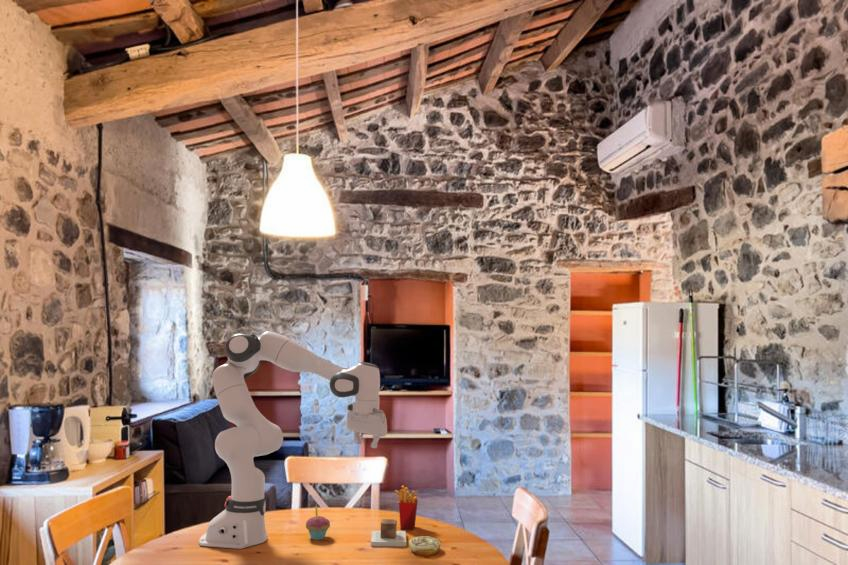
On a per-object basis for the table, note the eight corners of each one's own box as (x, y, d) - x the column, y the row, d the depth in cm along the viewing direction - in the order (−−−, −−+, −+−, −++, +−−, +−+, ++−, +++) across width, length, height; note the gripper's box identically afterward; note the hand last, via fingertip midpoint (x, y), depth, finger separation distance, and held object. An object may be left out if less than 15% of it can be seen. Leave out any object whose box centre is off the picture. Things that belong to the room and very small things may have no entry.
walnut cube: (380, 538, 226) (380, 523, 226) (382, 533, 231) (382, 519, 231) (394, 538, 226) (395, 523, 226) (396, 534, 231) (396, 519, 231)
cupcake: (324, 542, 225) (325, 506, 226) (301, 540, 227) (302, 504, 228) (332, 534, 233) (334, 500, 234) (310, 532, 235) (311, 498, 236)
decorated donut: (409, 556, 213) (409, 545, 214) (408, 545, 224) (408, 534, 224) (441, 556, 214) (441, 545, 214) (438, 545, 225) (439, 534, 225)
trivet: (370, 546, 222) (371, 541, 222) (371, 535, 234) (371, 530, 234) (406, 546, 223) (406, 541, 223) (405, 535, 235) (405, 530, 235)
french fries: (417, 525, 246) (418, 485, 247) (415, 532, 238) (416, 490, 239) (394, 524, 247) (395, 484, 248) (391, 531, 239) (392, 489, 240)
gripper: (391, 409, 233) (390, 449, 232) (357, 404, 248) (356, 441, 247) (377, 411, 229) (376, 451, 228) (344, 405, 244) (343, 442, 243)
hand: (366, 445), depth 238 cm, fingers open, 8 cm apart
